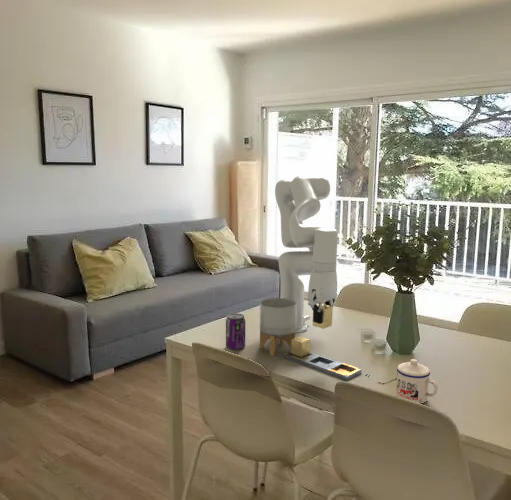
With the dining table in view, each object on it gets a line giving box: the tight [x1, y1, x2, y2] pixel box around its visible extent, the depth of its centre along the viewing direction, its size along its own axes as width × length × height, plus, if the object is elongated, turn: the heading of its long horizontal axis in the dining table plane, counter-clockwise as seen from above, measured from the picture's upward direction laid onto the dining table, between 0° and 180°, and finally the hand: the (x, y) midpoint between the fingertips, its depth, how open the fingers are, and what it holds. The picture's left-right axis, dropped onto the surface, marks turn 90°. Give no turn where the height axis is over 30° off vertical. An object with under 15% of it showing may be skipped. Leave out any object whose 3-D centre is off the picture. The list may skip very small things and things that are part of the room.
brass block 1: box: [290, 335, 311, 359], centre depth 175 cm, size 4×4×6 cm
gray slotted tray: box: [283, 350, 362, 381], centre depth 169 cm, size 8×26×2 cm, turn 45°
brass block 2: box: [312, 303, 334, 330], centre depth 167 cm, size 4×4×6 cm
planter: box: [259, 297, 297, 357], centre depth 181 cm, size 13×13×18 cm
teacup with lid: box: [395, 358, 439, 404], centre depth 145 cm, size 12×9×12 cm
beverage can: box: [225, 313, 246, 351], centre depth 184 cm, size 7×7×12 cm
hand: (322, 320), depth 167 cm, fingers closed on brass block 2, 4 cm apart
